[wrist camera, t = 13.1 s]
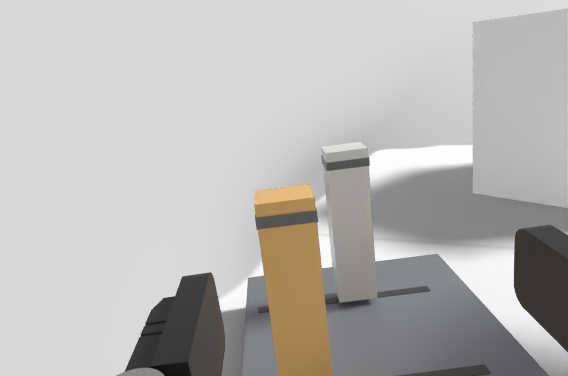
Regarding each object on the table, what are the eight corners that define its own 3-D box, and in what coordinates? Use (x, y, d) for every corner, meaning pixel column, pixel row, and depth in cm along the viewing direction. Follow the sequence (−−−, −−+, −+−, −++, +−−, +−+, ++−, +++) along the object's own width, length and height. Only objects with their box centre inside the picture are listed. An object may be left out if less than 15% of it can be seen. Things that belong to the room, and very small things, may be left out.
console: (438, 282, 43) (437, 253, 42) (606, 492, 22) (611, 443, 21) (252, 306, 43) (248, 277, 42) (242, 541, 22) (233, 493, 21)
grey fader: (370, 282, 38) (360, 141, 34) (378, 298, 35) (368, 148, 32) (334, 287, 38) (320, 146, 34) (339, 303, 35) (325, 153, 32)
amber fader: (329, 368, 28) (310, 183, 25) (335, 398, 26) (315, 197, 22) (279, 374, 28) (254, 190, 25) (281, 405, 26) (253, 205, 22)
